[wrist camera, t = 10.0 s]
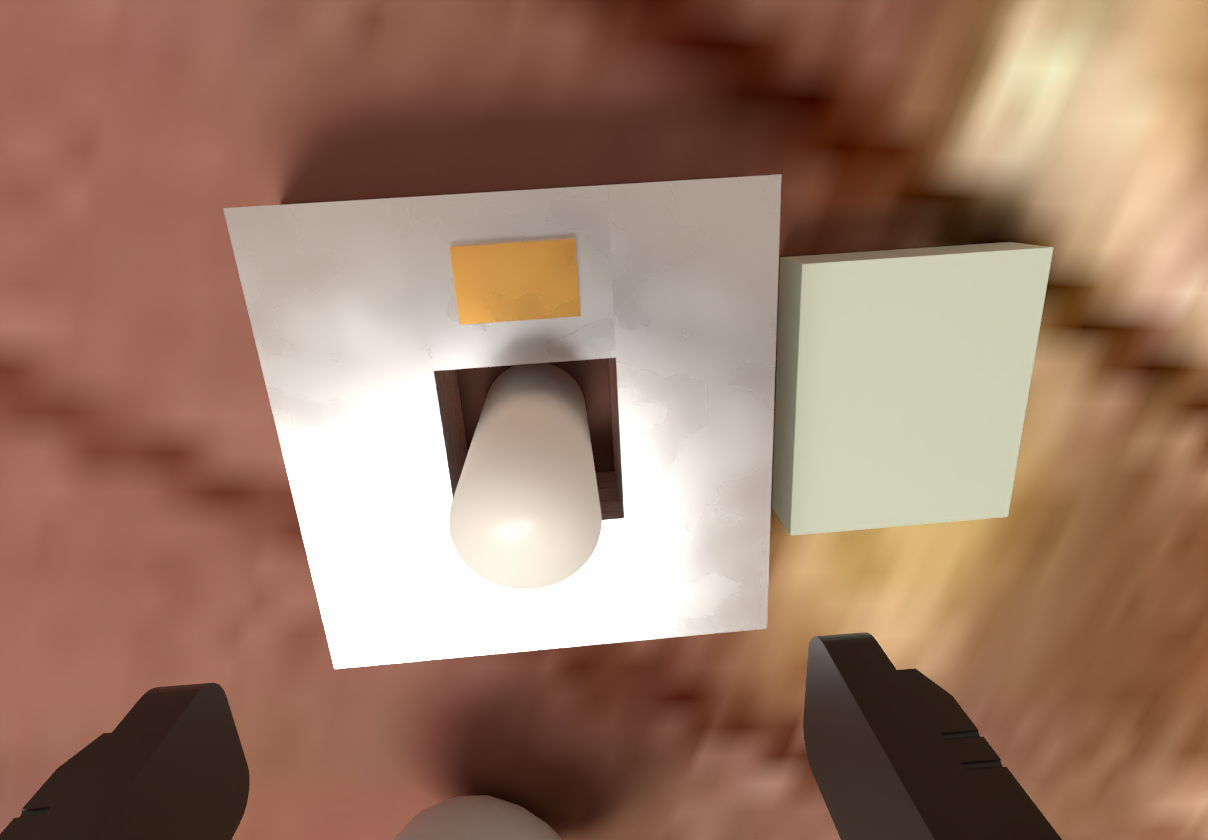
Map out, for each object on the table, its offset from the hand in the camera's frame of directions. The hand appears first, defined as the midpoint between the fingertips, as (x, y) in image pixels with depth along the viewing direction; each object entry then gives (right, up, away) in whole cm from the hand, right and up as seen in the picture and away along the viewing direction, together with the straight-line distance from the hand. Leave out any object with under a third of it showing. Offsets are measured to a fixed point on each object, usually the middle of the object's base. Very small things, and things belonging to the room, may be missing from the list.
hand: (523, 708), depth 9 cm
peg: (-1, +4, +13) cm, 14 cm away
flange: (-1, +4, +13) cm, 14 cm away
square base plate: (+11, +5, +14) cm, 18 cm away
